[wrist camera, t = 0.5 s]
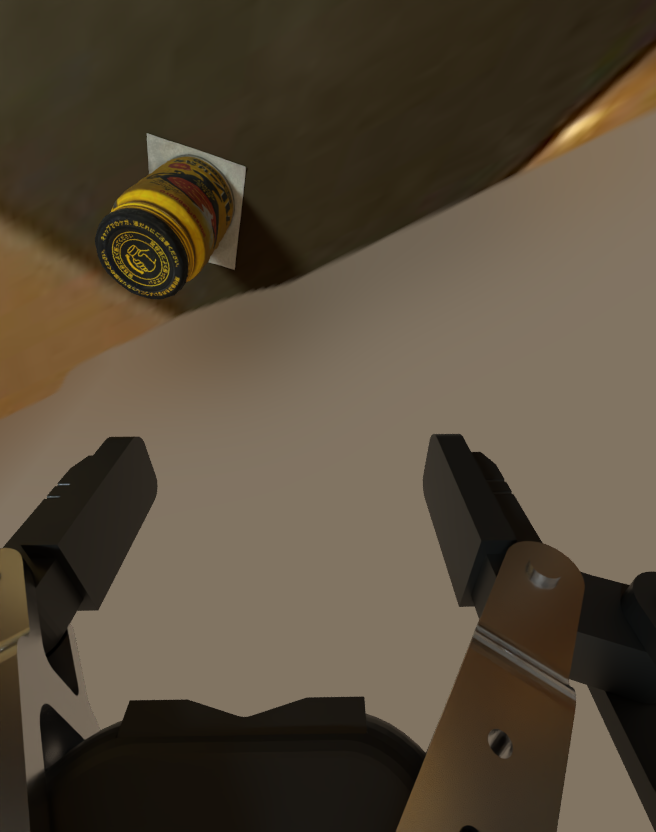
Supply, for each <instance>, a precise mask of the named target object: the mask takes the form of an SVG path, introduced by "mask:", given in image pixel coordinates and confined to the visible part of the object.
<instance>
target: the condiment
mask: <svg viewBox="0 0 656 832" xmlns="http://www.w3.org/2000/svg"><path fill="white" fill-rule="evenodd" d="M147 146H148V160H149V175H148V176H146V177H144V178H143V179H141V180H140V181H139V182H138V183H137V184H135V185H134V186H132V187H130V188H128V190H126V191H125V192H124V193H123V194H122V195H121V196H120V197H119V198H118V199H117V200H116V201H115V204H114V205H113V207H112V210H111V213H110V214H108V215H107V216H105V217H104V218H103V220H102V221H101V223H100V224H99V227H98V230H97V234H96V237H95V245H96V248H97V253H98V257H99V260H100V262H101V264H102V266H103V267H104V269H105V270H106V272H107V273H108V274H109V275H110V276H111V277H112V278H113V279H115V280H116V281H117V282H118V283H119V284H120V285H122V286H123V287H124V288H126V289H127V290H128V291H130V292H131V293H134V294H136V295H139V296H143V297H146V298H150V299H164V298H167V297H170V296H173V295H175V294H176V293H177V292H178V291H179V290H181V289H182V287H183V286H184V285H185V283H186V282H188V281H190V280H191V279H193V278H194V277H195V276H197V275H198V274H199V273H200V271H201V270H202V268H203V267H204V265H205V264H206V263H208V262H210V263H213V264H218V265H221V266H223V267H227V268H230V269H234V270H235V262H236V254H237V244H238V235H239V227H240V219H241V209H242V200H243V191H244V182H245V172H246V167H244V166H242V165H239V164H236V163H233V162H230V161H228V160H224V159H222V158H219V157H216V156H214V155H210V154H208V153H205V152H202V151H199V150H196V149H193V148H190V147H187V146H184V145H181V144H178V143H175V142H172V141H168V140H165V139H162V138H159V137H156V136H153V135H151V134H148V133H147Z"/></svg>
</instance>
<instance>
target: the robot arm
mask: <svg viewBox="0 0 656 832" xmlns="http://www.w3.org/2000/svg"><path fill="white" fill-rule="evenodd" d="M423 491H424V496H425V500H426V503H427V506H428V509H429V513H430V516H431V519H432V522H433V525H434V528H435V532H436V535H437V538H438V541H439V544H440V548H441V551H442V554H443V557H444V560H445V563H446V566H447V570H448V573H449V576H450V579H451V582H452V586H453V589H454V592H455V595H456V598H457V601H458V604H459V607H464V606H465V607H466V606H475V608H476V611H477V614H478V617H479V622H478V624H477V627H476V629H475V632H474V634H473V637H472V639H471V642H470V644H469V647H468V650H467V652H466V654H465V657H464V659H463V662H462V664H461V667H460V669H459V672H458V675H457V677H456V680H455V682H454V684H453V687H452V689H451V692H450V694H449V697H448V699H447V702H446V704H445V707H444V709H443V712H442V714H441V717H440V720H439V722H438V724H437V727H436V729H435V732H434V734H433V737H432V739H431V742H430V744H429V747H428V749H427V752H426V753H425V752H424V751H423V750H422V749H421V748H420V746H419V745H418V744H416V743H415V742H414V741H413V740H412V739H410V738H409V737H408V736H407V735H406V734H405V733H403V732H402V731H400V730H399V729H397V728H396V727H394V726H393V725H391V724H390V723H387V722H385V721H383V720H381V719H379V718H377V717H374V716H371V715H368V714H365V701H364V697H319V698H318V697H317V698H316V697H314V698H304V699H301V700H298V701H295V702H292V703H289V704H286V705H283V706H280V707H277V708H274V709H271V710H268V711H265V712H262V713H259V714H256V715H253V716H249V717H240V716H236V715H233V714H230V713H227V712H224V711H221V710H218V709H215V708H212V707H208V706H206V705H202V704H200V703H196V702H193V701H190V700H138V701H137V700H135V701H130V702H129V705H128V707H127V710H126V712H125V715H124V718H123V721H120V722H117V723H115V724H113V725H111V726H109V727H107V728H104V729H102V730H100V728H99V725H98V723H97V720H96V718H95V716H94V714H93V712H92V710H91V707H90V704H89V701H88V697H87V693H86V687H85V683H84V677H83V672H82V668H81V663H80V658H79V653H78V648H77V643H76V638H75V633H74V629H73V627H72V625H71V624H70V622H71V620H72V619H73V617H74V615H75V613H76V611H82V610H83V611H84V610H99V607H100V606H101V604H102V602H103V600H104V598H105V596H106V594H107V592H108V590H109V588H110V586H111V584H112V582H113V580H114V578H115V576H116V574H117V573H118V571H119V569H120V567H121V565H122V563H123V561H124V559H125V557H126V555H127V553H128V551H129V549H130V547H131V545H132V543H133V541H134V539H135V537H136V535H137V534H138V531H139V529H140V528H141V526H142V523H143V522H144V520H145V518H146V516H147V514H148V512H149V510H150V508H151V506H152V504H153V502H154V500H155V498H156V494H157V479H156V475H155V472H154V469H153V467H152V464H151V461H150V458H149V455H148V452H147V449H146V446H145V443H144V441H143V440H142V439H141V438H140V437H109V438H107V439H106V440H105V441H104V443H103V444H102V445H101V446H100V448H99V449H98V450H97V451H96V452H95V454H94V455H93V456H88V457H86V458H85V459H83V460H82V461H81V462H79V463H78V464H76V465H75V466H73V467H72V468H70V470H69V471H68V472H67V473H66V474H65V475H64V476H63V478H62V479H61V480H60V481H59V482H58V486H55V487H54V488H53V489H52V491H51V492H50V493H49V494H48V496H47V499H44V500H43V501H42V502H41V503H40V505H39V506H38V507H37V508H36V509H35V510H34V512H33V513H32V514H31V515H30V516H29V518H28V519H27V520H26V521H25V522H24V523H23V525H22V526H21V527H20V528H19V529H18V530H17V532H16V533H15V534H14V535H13V536H12V537H11V539H10V540H9V541H8V542H7V543H6V544H5V546H4V547H3V548H0V832H557V825H558V819H559V812H560V806H561V799H562V793H563V786H564V780H565V773H566V767H567V760H568V754H569V747H570V741H571V734H572V728H573V721H574V714H575V707H576V694H575V690H574V689H573V688H572V687H570V686H569V679H571V680H574V681H577V682H580V683H583V684H586V685H587V686H588V688H589V690H590V692H591V694H592V697H593V699H594V701H595V703H596V705H597V707H598V710H599V712H600V714H601V716H602V718H603V720H604V723H605V725H606V727H607V729H608V731H609V733H610V735H611V738H612V740H613V742H614V744H615V746H616V748H617V750H618V753H619V755H620V757H621V759H622V761H623V764H624V765H625V768H626V770H627V772H628V774H629V776H630V779H631V781H632V783H633V785H634V787H635V789H636V791H637V793H638V796H639V798H640V800H641V802H642V804H643V806H644V809H645V811H646V813H647V815H648V817H649V820H650V822H651V824H652V826H653V828H654V830H655V832H656V572H645V573H641V574H640V575H638V576H637V577H636V578H635V579H634V580H633V582H632V583H631V585H627V584H623V583H619V582H615V581H612V580H608V579H604V578H600V577H596V576H592V575H589V574H586V573H582V572H580V571H579V569H578V568H577V567H576V565H575V564H574V563H573V562H572V561H571V560H570V559H569V558H568V557H567V556H565V555H564V554H563V553H561V552H560V551H558V550H557V549H555V548H553V547H551V546H549V545H546V544H543V543H542V541H541V540H540V538H539V536H538V535H537V533H536V531H535V530H534V528H533V526H532V525H531V523H530V521H529V520H528V518H527V516H526V515H525V513H524V511H523V510H522V508H521V506H520V504H519V503H518V501H517V499H516V498H515V496H514V495H513V494H512V493H511V492H512V491H511V489H510V488H509V486H508V484H507V483H506V482H504V478H503V476H502V474H501V473H500V471H499V469H498V467H497V466H496V464H494V463H493V462H492V461H491V460H490V459H488V458H487V457H486V456H485V455H484V454H482V453H481V452H471V451H470V449H469V447H468V446H467V444H466V442H465V440H464V438H463V436H462V435H461V434H433V435H432V436H431V438H430V442H429V447H428V453H427V458H426V465H425V469H424V475H423Z"/></svg>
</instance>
